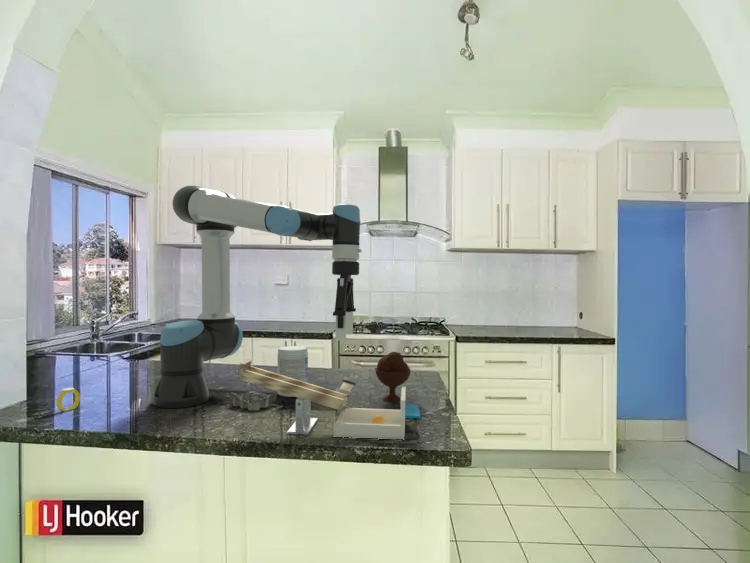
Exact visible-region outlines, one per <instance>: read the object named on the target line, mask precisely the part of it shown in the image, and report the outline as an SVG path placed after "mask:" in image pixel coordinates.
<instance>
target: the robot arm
mask: <svg viewBox="0 0 750 563" xmlns="http://www.w3.org/2000/svg"><path fill="white" fill-rule="evenodd" d="M171 204H172V210H173V212H174V213H175V215H176V216H177V217H178V218H179V219H180V220H181V221H183V222H185V223H187V224H193V225H195V228H196V234H198V235H199V237H200V239H201V313H200V314H199V315H198V316H197V317H196V320H195V319H193V320H191V319H190V320H184V321H183V320H182V321H176V322H170V323H168V324H165V325H164V326H163V327H162V328H161V331H160V339H159V343H160V353H159V354H160V362H159V363H160V364H159V366H160V367H159V368H160V369H159V370H160V371H159V372H160V373H159V380H158V382H157V385H156V387H155V391H154V393H153V397H152V400H153V402H152V404H153V406H154V407H158V408H162V409H164V408H165V409H182V408H189V407H194V406H199V405H202V404H205V403H206V402H208V401H209V398H210V392H209V388H208V385H207V382H206V379H205V377H204V372H203V371H204V369H203V368H204V362H208V361H212V360H218V359H225V358H228V357H230V356H232V355H233V356H234V354H236V352H238V350H239V349H240V348H241V346H242V343H243V340H244V339H243V338H244V336H243V330H242V327H240V324H239V323H237V322H236V315H234V314H233V313H232V312H231V273H230V272H231V270H230V269H231V266H230V265H231V264H230V262H231V261H230V260H231V258H230V257H231V256H230V251H231V250H230V248H231V247H230V244H231V243H230V239H231V238H232V236H233V235H234V234H235V228H237V227H239V228H245V229H249V230H254V231H259V232H265V233H271V234H275V235H277V236H280V237H281V236H282V237H290V238H297V240H300V241H305V242H306V241H309V242H312V241H323V240H324V241H328V240H329V241H332V246H331V247H332V248H331V249H332V250H331V252H332V253H331V254H332V256H331V259H332V260H333V261H332V263H331V264H332V265H331V268H332V269H331V274H332V275H334V276H339V277H337V280H336V295H335V303H334V304H335V305H334V311H333V312H332V316H334V317H335V338H334V339H335V340H334V341H337V342H339V341H340V342H341V341H342V342H346V341H347V335H353V334H354V312H356V311H357V310H356V307H355V304H354V302H355V301H354V300H355V298H354V279H353V277H352V276H358V275H359V274H360V262H359V261H358V260H360V253H362V251H363V250H362V249H361V248H360V235H361V234H360V233H361V222H362V221H361V213H360V212H361V210H360V207H359V206H357V205H355V204H347V203H345V204H344V203H343V204H342V203H340V204H335V205H334V206H333V208H332V212H329V213H314V212H311V211H306V210H302V209H298V208H296V207H295V208H294V207H292V206H288V205H285V204H284V205H282V204H281V205H280V204H279V205H276V204H271V203H266V202H260V201H259V202H258V201H254V200H253V201H252V200H248V199H247V200H246V199H241V198H236V197H234V196H233V195H232V194H229V193H226V192H224V191H219V190H214V189H211V188H206V187H202V186H198V185H185V186H183V187H181V188H180V189H178V190H177V191H176V192H175V194H174V195H173V198H172V203H171Z"/></svg>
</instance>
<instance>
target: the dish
mask: <svg viewBox="0 0 750 563" xmlns="http://www.w3.org/2000/svg"><path fill="white" fill-rule="evenodd" d="M406 389H407V387H406V386H401V392H400V398H401V401H400V409H392V408H391V409H388V408H387V409H386V408H361V407H360V408H359V407H345V408H344V410H340V411H341V412H340V414H339V415H338V417H337V419H336V421H335V422H334V425H333V428H332V430H333V431H332V432H333V433H332V434H333V436H332V438H333V437H343V438H342V439H345V438H344V437H349V438H348V439H356V438H378V439H377V440H379V439H403V440H404V441H405V438H404V437H406V436H405V432H406V418H405V403H406V398H407V396H406V395H407V394H406V393H407V392H406V391H407V390H406ZM376 415H380V416H382V417H383V418H384V424H373V423H372V420H373V418H374V417H375V416H376ZM351 437H352V438H351Z"/></svg>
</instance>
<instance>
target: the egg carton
mask: <svg viewBox="0 0 750 563" xmlns="http://www.w3.org/2000/svg"><path fill="white" fill-rule="evenodd" d="M230 394H231V395H232V396H233V399H232V406H233V407H239V408H240V409H247V410H248V411H250V410H251V411H259V410H260V408H264V409H265V408H269V405H270V402H269V401H270V400H269V399H270V397H271V394H266V393H264V392H262V393H261V392H257V391H255V390H251V391H247V392H244V393H240V394H239V395H238V394H237V393H234V392H233V391H231V392H230Z"/></svg>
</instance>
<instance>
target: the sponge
mask: <svg viewBox="0 0 750 563" xmlns="http://www.w3.org/2000/svg"><path fill="white" fill-rule="evenodd" d="M413 418H419V419H421V418H422V416H421V411H420V407H419V406H418V405H417V404H416V403H408V402H407V403H405V419H413Z"/></svg>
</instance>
